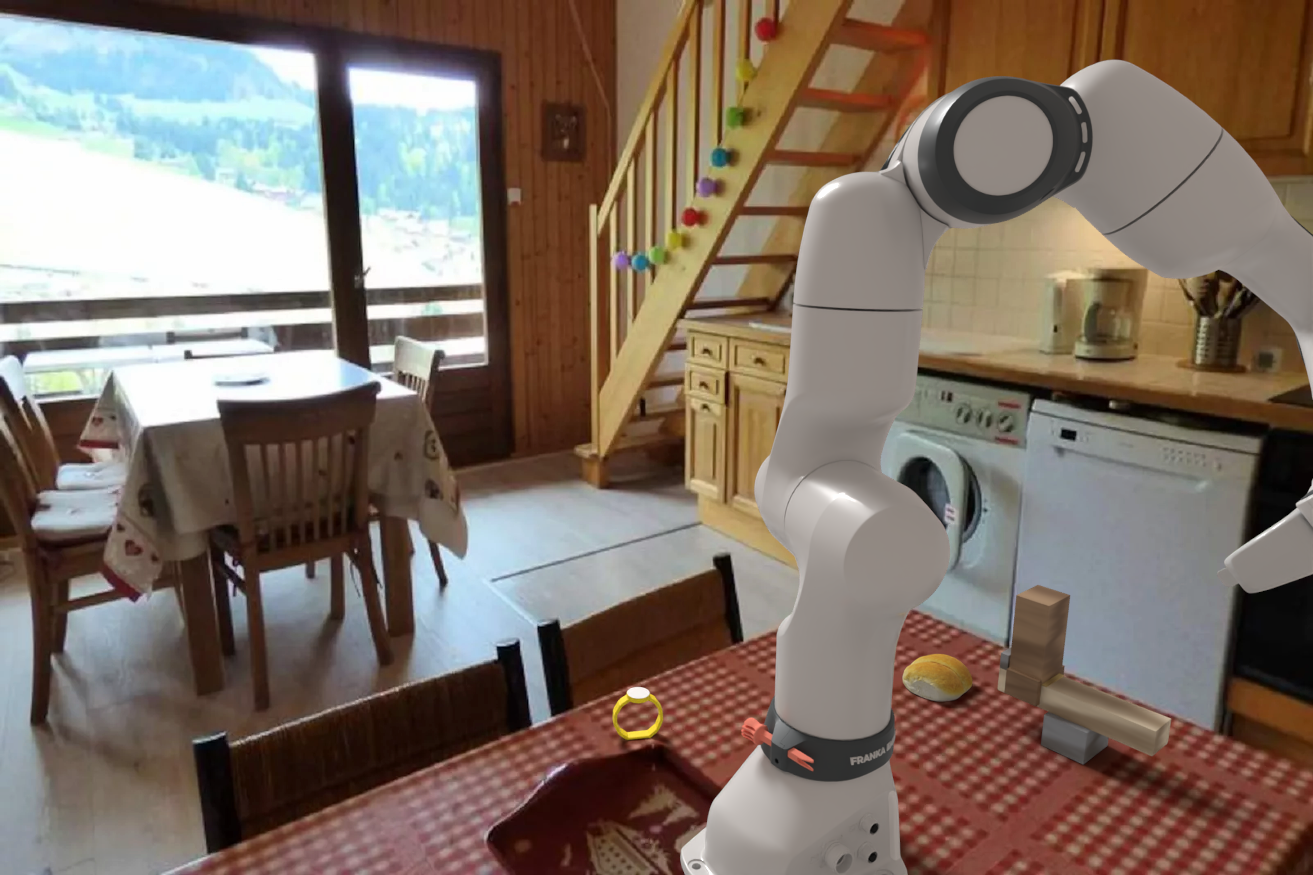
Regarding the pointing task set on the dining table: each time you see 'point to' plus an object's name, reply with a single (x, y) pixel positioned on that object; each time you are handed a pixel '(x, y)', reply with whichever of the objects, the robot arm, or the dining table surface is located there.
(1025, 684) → the plate
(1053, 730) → the seesaw
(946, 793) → the dining table surface
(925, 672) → the bread roll
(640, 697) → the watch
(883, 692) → the robot arm
